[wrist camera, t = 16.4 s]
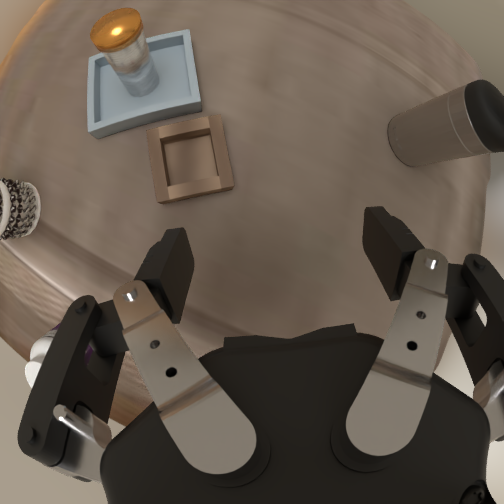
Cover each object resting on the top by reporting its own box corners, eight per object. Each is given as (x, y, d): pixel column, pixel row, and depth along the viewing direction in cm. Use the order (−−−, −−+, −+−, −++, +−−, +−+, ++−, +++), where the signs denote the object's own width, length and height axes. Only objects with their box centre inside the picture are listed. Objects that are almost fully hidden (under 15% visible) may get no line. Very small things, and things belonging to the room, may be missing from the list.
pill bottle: (97, 367, 34) (60, 422, 20) (59, 333, 33) (11, 376, 19) (121, 336, 34) (83, 391, 20) (81, 298, 33) (26, 336, 19)
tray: (190, 42, 30) (189, 29, 27) (201, 111, 32) (200, 101, 29) (96, 67, 29) (89, 57, 25) (97, 139, 31) (88, 132, 27)
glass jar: (159, 64, 29) (140, 2, 16) (162, 92, 30) (140, 33, 16) (124, 73, 29) (92, 18, 15) (125, 102, 30) (88, 51, 16)
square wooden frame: (219, 125, 33) (220, 114, 29) (231, 189, 34) (234, 185, 30) (152, 139, 32) (146, 130, 28) (163, 204, 33) (157, 202, 29)
